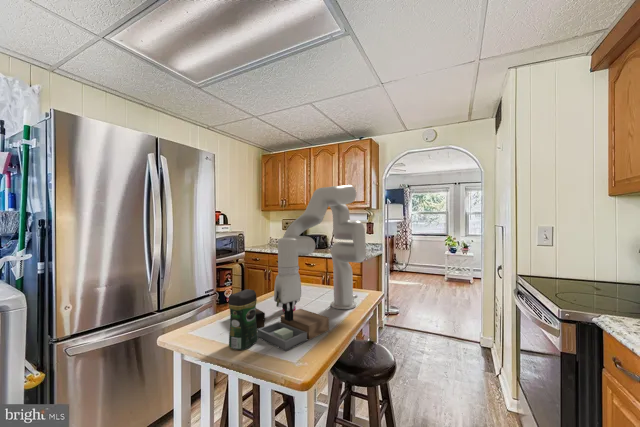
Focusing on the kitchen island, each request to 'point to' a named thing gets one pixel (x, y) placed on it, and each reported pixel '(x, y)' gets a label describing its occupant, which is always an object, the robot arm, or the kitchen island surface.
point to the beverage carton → (260, 318)
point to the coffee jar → (242, 319)
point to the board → (308, 322)
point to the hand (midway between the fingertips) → (288, 319)
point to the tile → (284, 333)
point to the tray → (268, 336)
